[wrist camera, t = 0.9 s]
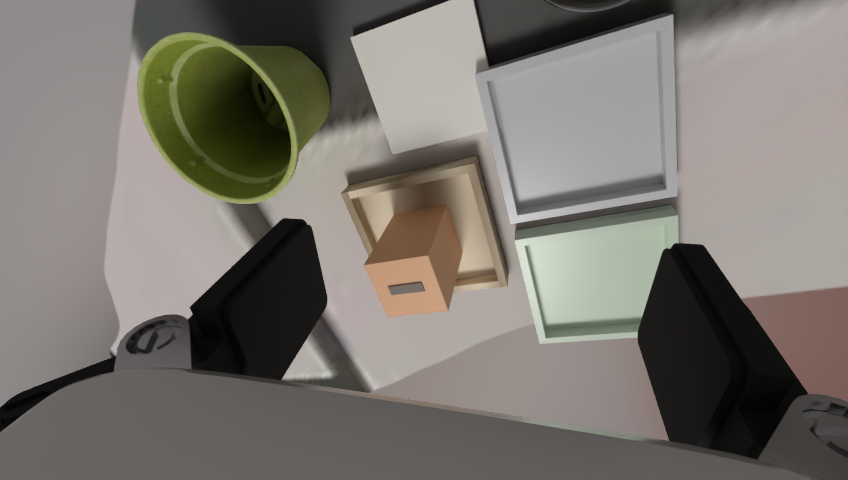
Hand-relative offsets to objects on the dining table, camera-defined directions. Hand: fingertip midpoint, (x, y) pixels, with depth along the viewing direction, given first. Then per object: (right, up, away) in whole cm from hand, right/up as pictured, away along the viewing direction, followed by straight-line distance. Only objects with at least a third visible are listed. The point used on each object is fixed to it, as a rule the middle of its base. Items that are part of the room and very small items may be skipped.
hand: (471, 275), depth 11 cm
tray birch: (-1, +2, +22) cm, 22 cm away
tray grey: (+9, +8, +15) cm, 19 cm away
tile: (-1, +11, +16) cm, 19 cm away
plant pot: (-11, +12, +18) cm, 24 cm away
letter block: (-1, +1, +21) cm, 21 cm away
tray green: (+12, -2, +21) cm, 24 cm away
